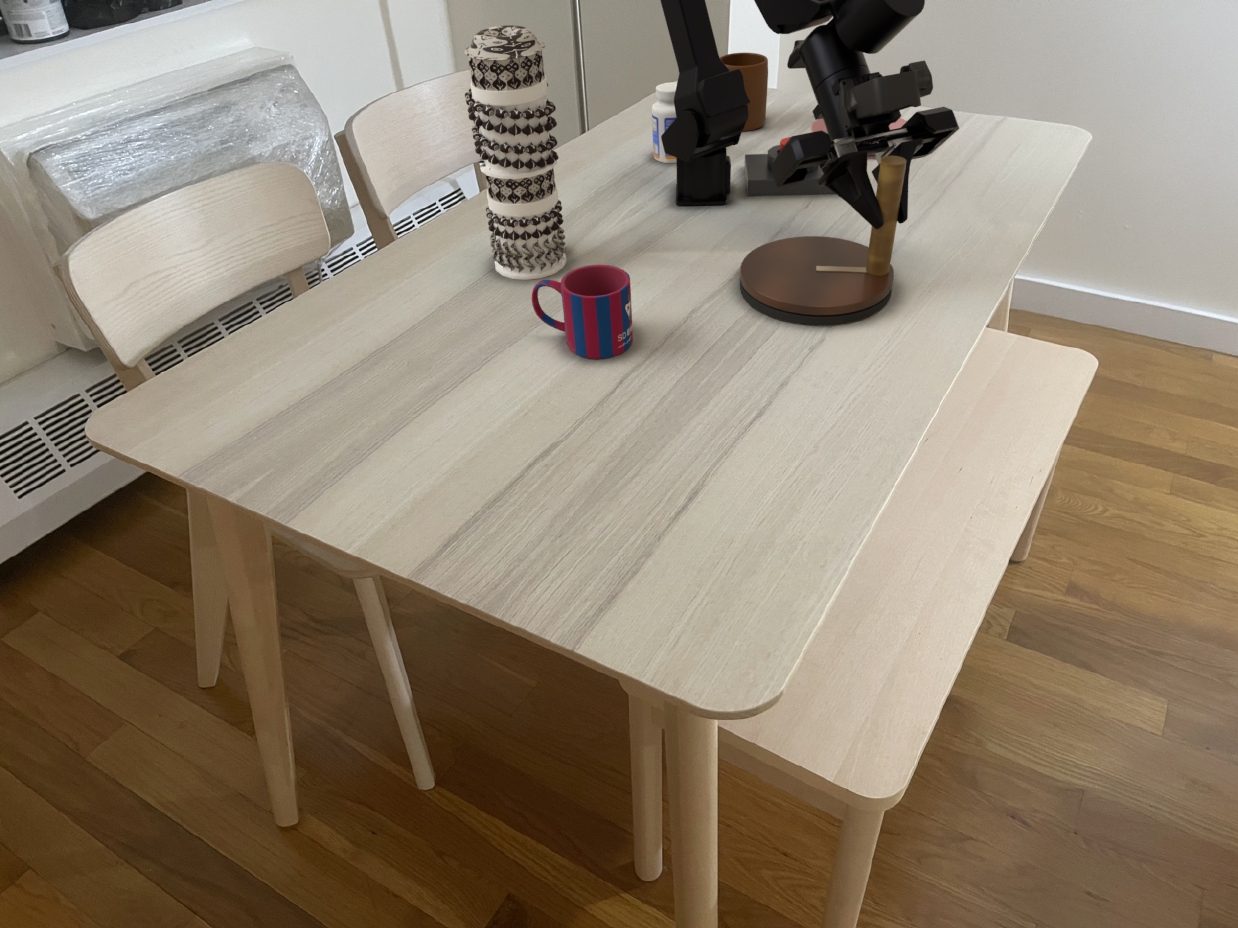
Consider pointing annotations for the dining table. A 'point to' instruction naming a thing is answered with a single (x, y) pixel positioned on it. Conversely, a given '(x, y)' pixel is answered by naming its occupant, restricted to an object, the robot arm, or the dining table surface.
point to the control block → (764, 183)
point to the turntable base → (813, 319)
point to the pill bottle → (663, 119)
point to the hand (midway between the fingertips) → (891, 224)
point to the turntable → (830, 262)
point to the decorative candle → (516, 151)
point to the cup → (592, 310)
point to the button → (783, 142)
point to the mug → (752, 84)
